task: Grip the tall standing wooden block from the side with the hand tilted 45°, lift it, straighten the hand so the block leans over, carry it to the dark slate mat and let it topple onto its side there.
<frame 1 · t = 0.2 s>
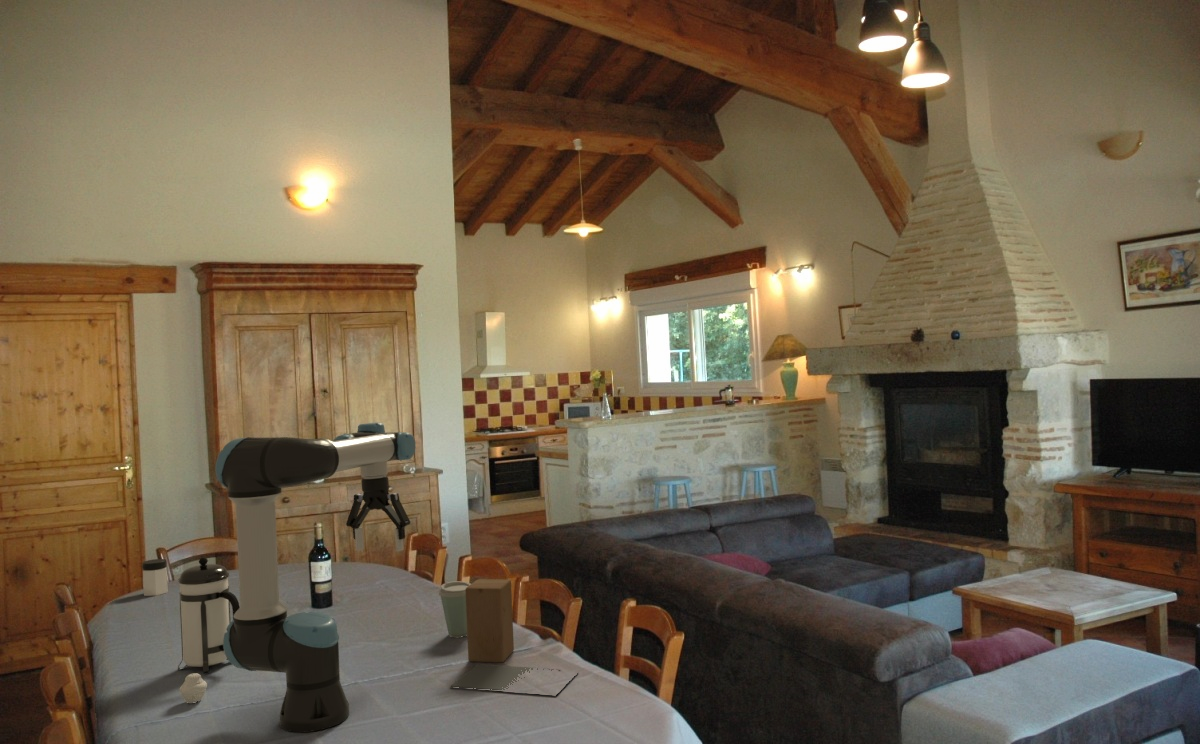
hand: (379, 550, 251), 28 cm above the table, tool pointing down, fingers open, 13 cm apart
wooden block: (491, 657, 240), on the table
mat: (515, 680, 220), on the table
beige rounded lump: (194, 702, 215), on the table
coffee press: (212, 666, 242), on the table
jar: (155, 593, 328), on the table
disposable coffee cup: (459, 635, 261), on the table
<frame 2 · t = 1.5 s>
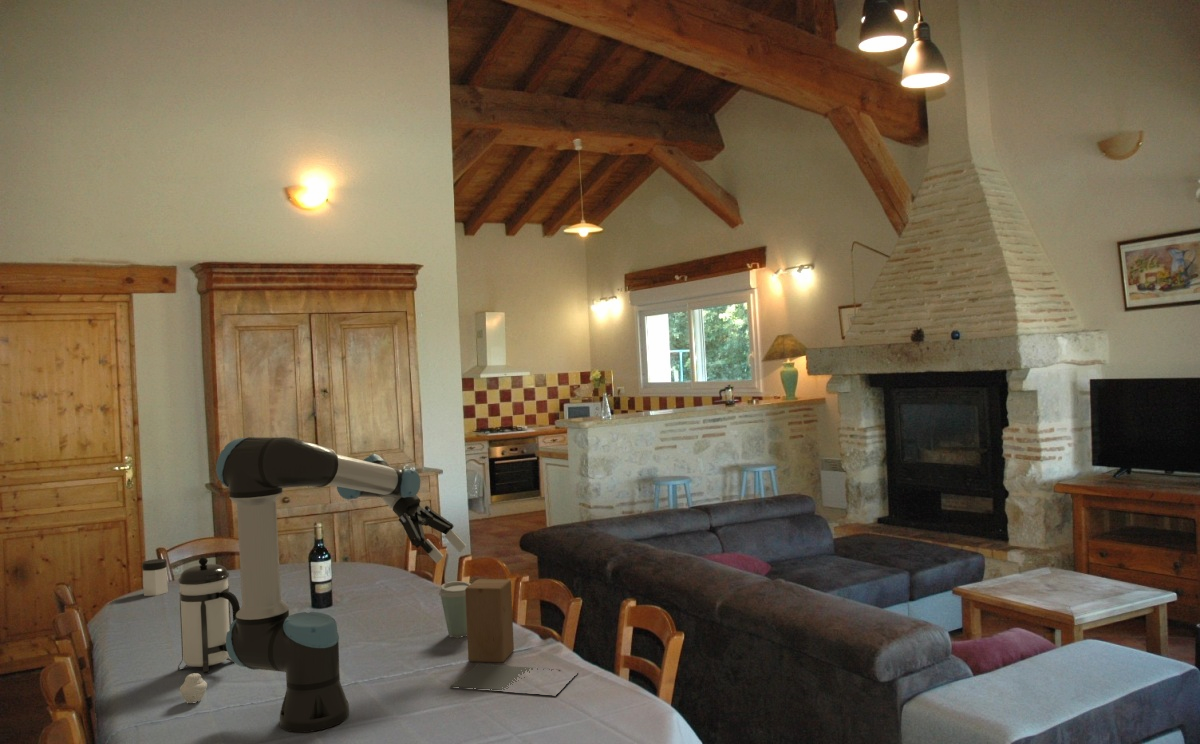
hand: (452, 554, 243), 28 cm above the table, tool tilted 45°, fingers open, 13 cm apart
nothing on the table moved.
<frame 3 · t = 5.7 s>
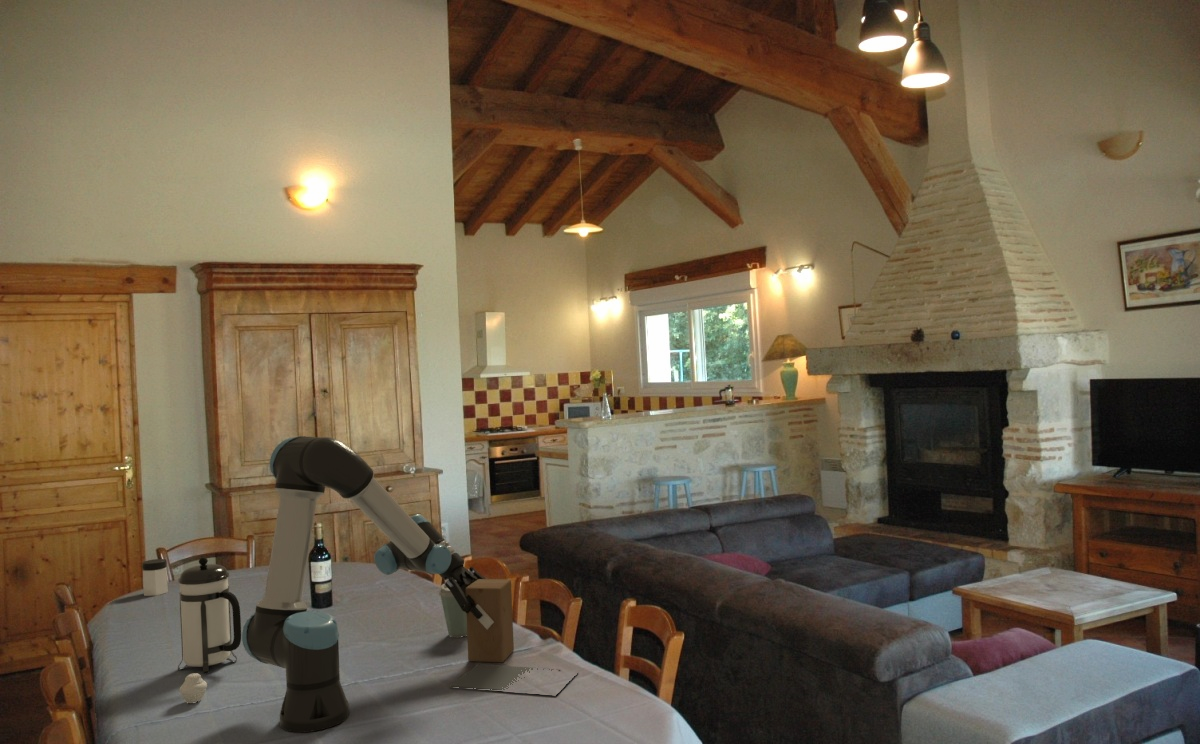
hand: (499, 619, 239), 10 cm above the table, tool tilted 45°, fingers closed on wooden block, 11 cm apart
wooden block: (491, 656, 240), on the table, touching gripper
everything else where it was.
when the fingers open (11 cm above the table, at t = 14.0 s): wooden block moves 4 cm, resting on mat.
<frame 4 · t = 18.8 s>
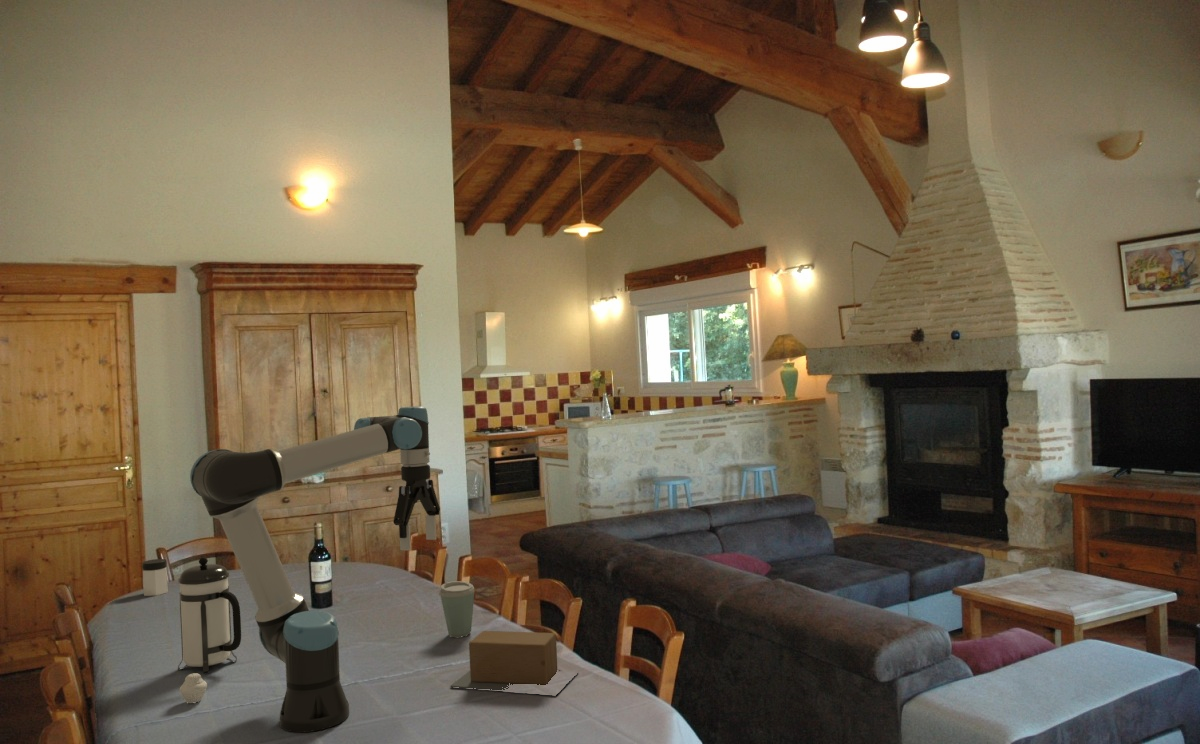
hand: (418, 544, 232), 33 cm above the table, tool pointing down, fingers open, 13 cm apart
wooden block: (475, 655, 224), point 6 cm above the table, touching mat
everything else where it was.
at the end: wooden block tilted 90°; wooden block touching mat; the gripper is holding nothing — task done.
